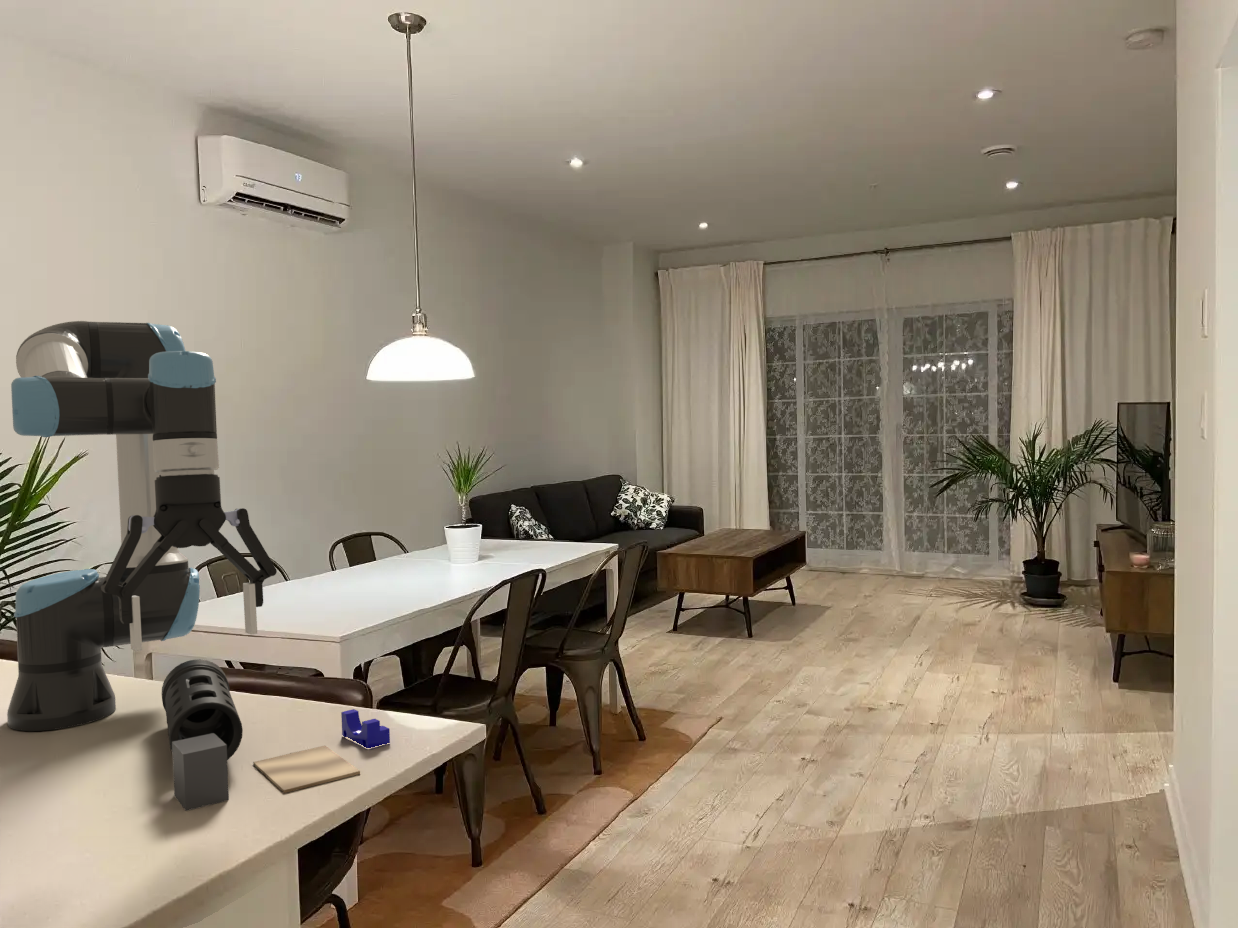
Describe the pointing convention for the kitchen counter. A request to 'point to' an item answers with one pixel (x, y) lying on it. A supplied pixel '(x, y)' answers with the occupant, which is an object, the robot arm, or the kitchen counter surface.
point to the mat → (305, 768)
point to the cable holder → (364, 730)
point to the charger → (200, 771)
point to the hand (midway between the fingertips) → (196, 641)
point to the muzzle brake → (200, 704)
